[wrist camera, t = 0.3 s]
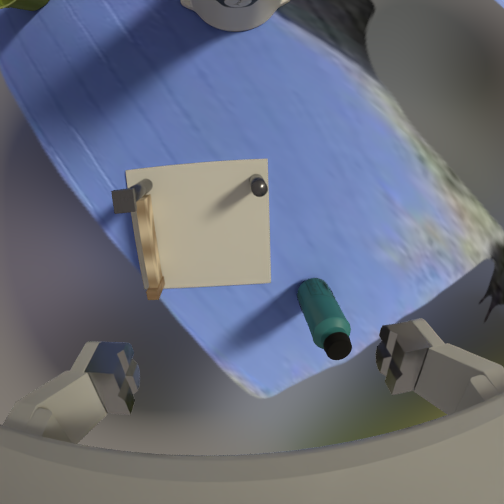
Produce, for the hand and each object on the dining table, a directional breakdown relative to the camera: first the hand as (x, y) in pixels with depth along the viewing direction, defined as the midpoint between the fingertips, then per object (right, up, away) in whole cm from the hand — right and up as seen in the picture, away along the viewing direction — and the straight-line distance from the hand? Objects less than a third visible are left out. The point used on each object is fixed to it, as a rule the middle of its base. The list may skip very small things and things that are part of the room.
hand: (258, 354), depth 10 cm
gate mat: (-9, +7, +47) cm, 49 cm away
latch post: (0, +15, +44) cm, 47 cm away
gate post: (-18, +15, +44) cm, 50 cm away
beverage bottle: (+11, -4, +53) cm, 54 cm away
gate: (-18, +5, +47) cm, 50 cm away
